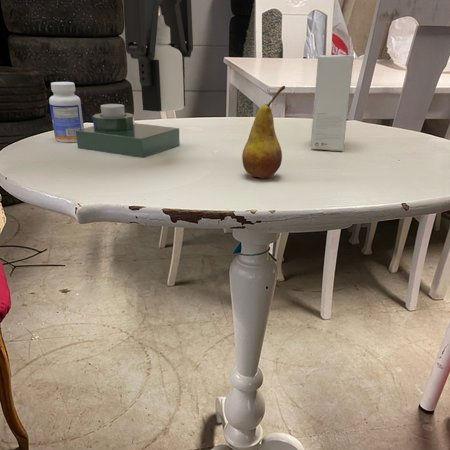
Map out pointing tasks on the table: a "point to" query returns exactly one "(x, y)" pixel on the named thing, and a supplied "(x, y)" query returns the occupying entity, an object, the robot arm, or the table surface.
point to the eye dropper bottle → (169, 69)
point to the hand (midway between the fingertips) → (164, 107)
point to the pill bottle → (65, 111)
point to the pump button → (112, 110)
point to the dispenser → (126, 136)
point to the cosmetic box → (331, 101)
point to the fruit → (262, 145)
